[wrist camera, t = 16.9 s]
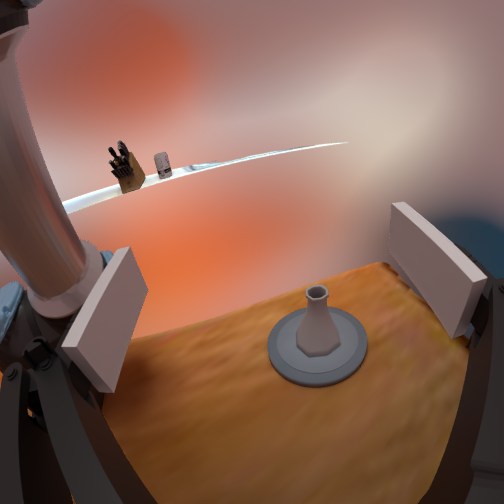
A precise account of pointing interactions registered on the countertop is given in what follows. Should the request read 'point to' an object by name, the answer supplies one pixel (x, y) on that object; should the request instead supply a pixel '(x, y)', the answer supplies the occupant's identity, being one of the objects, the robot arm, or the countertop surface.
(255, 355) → the countertop surface
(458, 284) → the robot arm
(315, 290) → the flask
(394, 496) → the countertop surface
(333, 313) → the dish
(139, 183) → the knife block
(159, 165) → the supplement can
